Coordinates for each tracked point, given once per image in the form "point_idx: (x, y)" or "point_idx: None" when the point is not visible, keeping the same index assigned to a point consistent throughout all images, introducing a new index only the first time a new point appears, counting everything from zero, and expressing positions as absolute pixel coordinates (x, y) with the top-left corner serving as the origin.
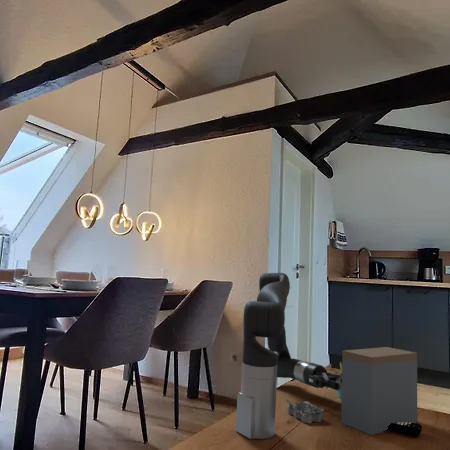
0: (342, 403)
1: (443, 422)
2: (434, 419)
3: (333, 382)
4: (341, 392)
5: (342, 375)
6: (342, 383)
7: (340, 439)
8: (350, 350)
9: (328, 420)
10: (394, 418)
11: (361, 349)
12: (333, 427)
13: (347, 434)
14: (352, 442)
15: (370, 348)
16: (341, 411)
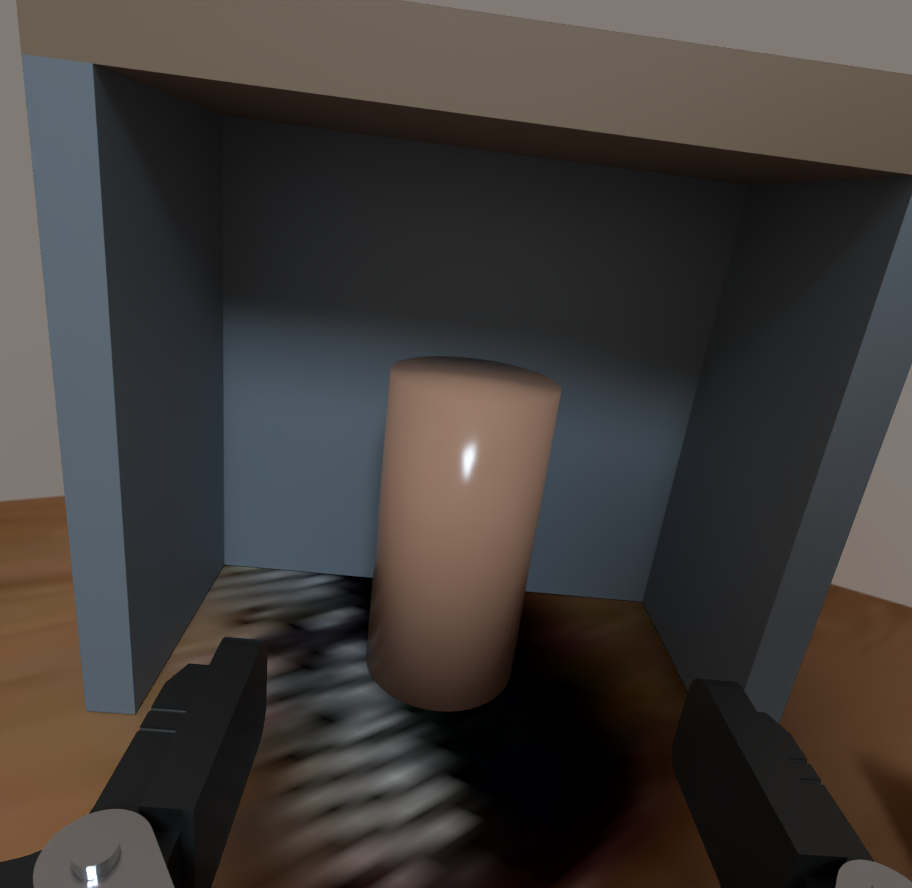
0: (808, 620)
1: (60, 500)
2: (25, 525)
3: (775, 755)
4: None
5: (899, 383)
6: (871, 458)
7: (894, 636)
8: (877, 76)
9: (874, 850)
10: None
11: (659, 43)
12: (879, 739)
13: (816, 648)
14: (833, 600)
15: (445, 8)
16: (791, 686)
